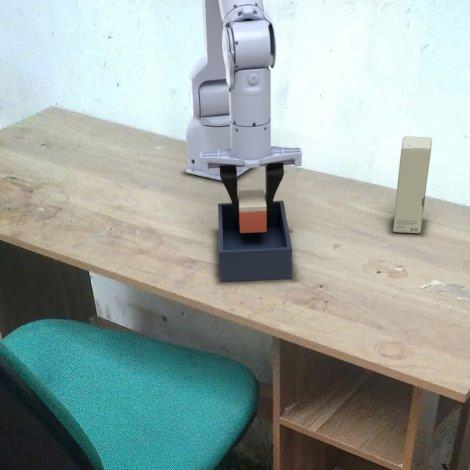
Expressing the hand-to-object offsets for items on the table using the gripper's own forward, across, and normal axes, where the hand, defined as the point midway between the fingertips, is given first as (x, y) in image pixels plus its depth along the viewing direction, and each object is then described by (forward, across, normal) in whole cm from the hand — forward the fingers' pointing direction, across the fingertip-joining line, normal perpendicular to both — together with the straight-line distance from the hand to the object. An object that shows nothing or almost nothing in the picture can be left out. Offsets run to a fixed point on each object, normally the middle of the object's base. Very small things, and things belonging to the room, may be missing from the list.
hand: (252, 214), depth 120 cm
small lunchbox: (+1, 0, 0) cm, 1 cm away
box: (+4, +25, +3) cm, 25 cm away
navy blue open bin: (+4, 0, -4) cm, 6 cm away
